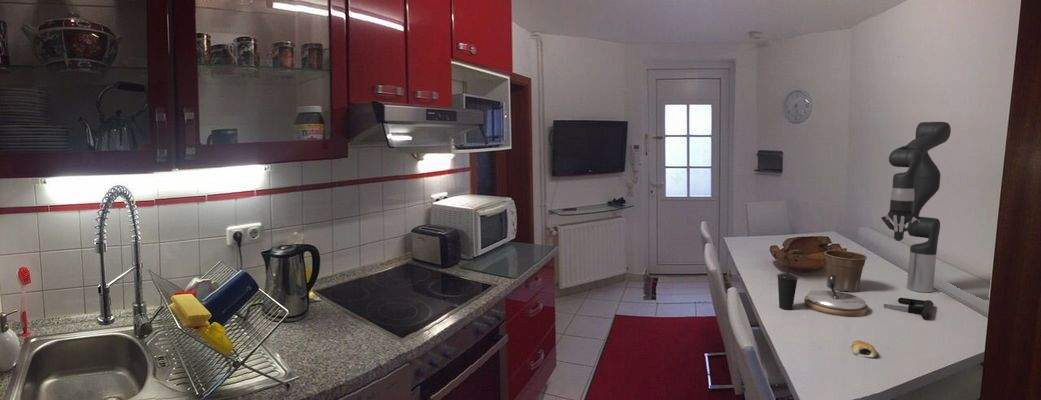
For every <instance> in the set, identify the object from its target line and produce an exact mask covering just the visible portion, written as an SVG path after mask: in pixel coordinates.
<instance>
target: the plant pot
mask: <svg viewBox="0 0 1041 400" xmlns="http://www.w3.org/2000/svg"><path fill="white" fill-rule="evenodd" d="M824 256H825V262H826V286H827V287H828V285H829V275H835V276H836V286H835V288H834V290H835V291H836V292H847V293H856V292H858V291H859V288H860V283H861V278H862V273H863V269H864V266H865V263H866V260H867V259H868V256H866V255H865V254H862V253H859V252H854V251H849V250H836V249H835V250H832V249H831V250H826V251H824ZM828 288H829V289H831V288H830V287H828Z"/></svg>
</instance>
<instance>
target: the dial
mask: <svg viewBox="0 0 1041 400" xmlns="http://www.w3.org/2000/svg"><path fill="white" fill-rule="evenodd" d="M835 286H836V276H835V275H829V285H828V286H827V288H829V287H830V288H829V289H830V290H812V291H809V292H808V293H807V295H808V296H807V295H806V296H807V299H808V300H809V301H810V302H812V303H814V304H817V305H820V306H823V307H827V308H832V309H839V310H860V309H863V308H865V304H866V301H865V300H864V299H863V298H861V297H859V296H857V295H854V294H850V293H848V292H846V293H845V292H843V291H837V290H834V288H835Z"/></svg>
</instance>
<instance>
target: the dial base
mask: <svg viewBox="0 0 1041 400" xmlns="http://www.w3.org/2000/svg"><path fill="white" fill-rule="evenodd" d="M807 296H808V294H807V295H805V296H804V300H803V301H804V302H803V303H804V305H805V306H806V307H807V308H809V309H811V310H813V311H815V312H819V313H821V312H822V314H826V315H831V316H836V317H837V316H838V317H846V318H855V317H863V316H866V315H868V313H869V306H868V305H867V304H866V303H865V308H863V309H860V310H839V309H832V308H827V307H823V306H820V305H817V304H814V303H812V302H810V301H809V300H808V299H807Z"/></svg>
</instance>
